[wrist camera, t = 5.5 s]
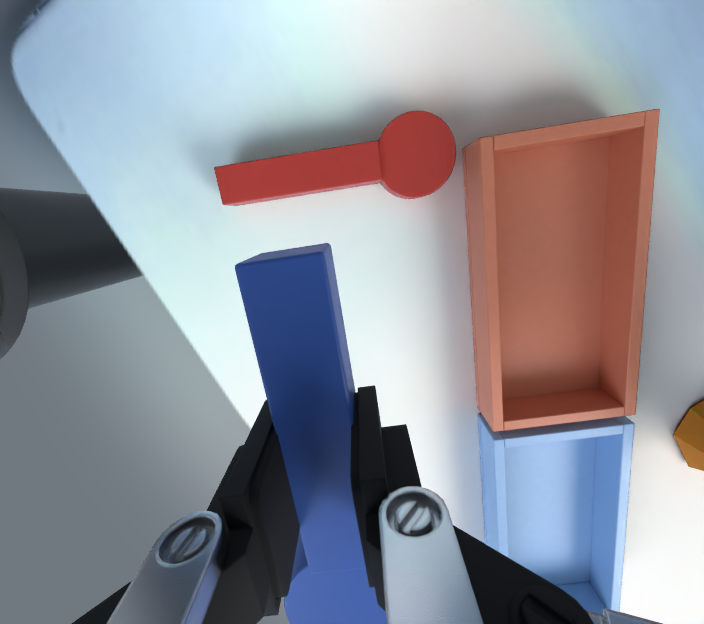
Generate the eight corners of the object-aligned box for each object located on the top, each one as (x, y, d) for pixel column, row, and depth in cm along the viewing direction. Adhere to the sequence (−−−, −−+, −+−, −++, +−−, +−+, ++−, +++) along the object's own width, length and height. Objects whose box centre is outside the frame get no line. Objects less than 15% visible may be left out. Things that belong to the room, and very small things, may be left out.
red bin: (477, 407, 25) (493, 432, 22) (462, 148, 21) (479, 137, 18) (602, 391, 25) (635, 415, 22) (616, 123, 20) (660, 108, 17)
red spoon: (222, 150, 21) (207, 142, 19) (445, 113, 20) (455, 101, 18) (239, 225, 22) (227, 226, 20) (450, 193, 21) (461, 190, 19)
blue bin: (487, 591, 30) (502, 631, 27) (477, 414, 25) (493, 440, 22) (593, 580, 30) (619, 620, 27) (602, 399, 25) (635, 423, 22)
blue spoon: (373, 235, 9) (378, 242, 7) (421, 591, 13) (434, 664, 11) (217, 259, 10) (179, 273, 8) (306, 603, 13) (296, 677, 11)
